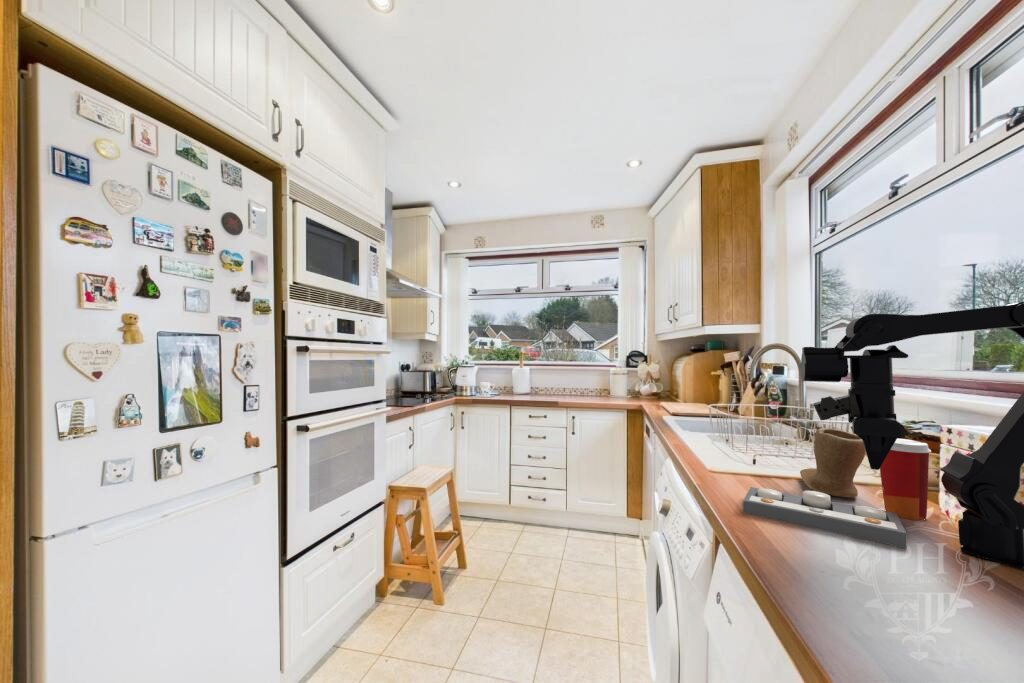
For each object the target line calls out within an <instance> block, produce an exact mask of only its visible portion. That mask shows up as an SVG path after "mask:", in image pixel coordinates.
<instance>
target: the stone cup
mask: <svg viewBox="0 0 1024 683" xmlns="http://www.w3.org/2000/svg"><path fill="white" fill-rule="evenodd" d="M813 453H814V459H815V464H816V465H815V466H816V468H811V467H810V468H803V469H801V470H800V472H799V474H800V477H801V478H802V480H803V483H804V484H805V485H806V486H807V488H809V490H811V491H816V492H821V493H825V494H827V495H829V496H833V497H839V498H840V497H841V498H853V499H854V498H856V497H858V495H859V492H858V489H857V487H856V486H855V484H854V478H855V476H856V473H857V471H858V469H859V467H860V466H861V464H862V463H863V461H864V458H865V456H866V451H865V447H864V444H863V440H862V439H861V438H860V437H858V436H857V435H856V434H854V433H851V432H848V431H845V430H841V429H835V428H831V427H820V428H819V429H817V431H816V432H815V435H814V443H813Z"/></svg>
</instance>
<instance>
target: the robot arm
mask: <svg viewBox="0 0 1024 683" xmlns="http://www.w3.org/2000/svg"><path fill="white" fill-rule="evenodd" d="M994 329H1007V330H1009V331H1011V332H1012V333H1013V334H1015V335H1016V336H1018V337H1019V338H1020V339H1021V340H1023V341H1024V301H1021V302H1015V303H1010V304H1006V305H998V306H997V305H996V306H987V307H980V308H970V309H962V310H960V309H959V310H954V311H953V310H952V311H945V312H935V313H934V312H933V313H928V314H926V313H925V314H902V313H901V314H900V313H899V314H898V313H897V314H896V313H870V314H866V315H863V316H860V317H857V318H854V319H852V320H851V321H850V322H849V323H847V325H846V327H845V335H844V337H842V339H841V340H840V341H838V342H837V343H836V345H835V346H834V347H815V346H802V348H801V350H802V353H801V358H800V359H801V360H800V363H799V371H800V372H799V373H800V378H801V379H800V380H801V381H802V382H815V383H820V382H821V383H840V382H841V380H842V378H847V377H848V376H849V375H850V388H848V389H847V391H848V394H846V395H842V396H836V397H832V396H831V395H829V396H826V397H821V399H820V401H817V402H813V407H814V409H815V412H816V413H817V415H818V418H819V420H820V421H826V420H830V419H832V418H836V417H839V416H845V415H847V420H848V423H852V424H851V425H852V426H850V428H851V431H852V434H855V435H857V436H858V437H860V438H861V439H862V440H863V444H864V447H865V451H866V453H865V455H866V457H867V461H868V464H869V467H870V469H871V470H874V471H875V470H876V471H880V467H881V466H882V464H883V462H884V460H885V458H886V457H887V455H888V453H889V451H890V450H891V448H892V446H893V445H894V443H895V441H896V440H897V438H898V439H906V433H905V432H906V429H905V426H904V425H903V424H902V423H901V422H900V421H898V420H897V413H895V401H894V400H895V399H894V398H895V397H896V390H895V389H894V376H893V374H894V373H893V359H907V358H908V357H909V354H908V353H905V352H904V351H903V350H901V349H899V348H898V347H897V346H896V345H895V344H892V345H888V346H887V347H886V348H885V349H882V348H881V349H874V348H873V349H865V350H864V351H863V352H862V355H856V354H855V355H854V354H853V355H852V354H851V355H850V354H849V355H845V353H847V352H859V351H861V350H862V349H864V348H867V347H878V346H881V345H882V346H883V345H886V344H891V343H895V342H900V341H904V340H908V339H912V338H916V337H920V336H921V337H922V336H929V335H941V334H942V335H943V334H952V333H962V332H963V333H964V332H972V331H984V330H994ZM848 359H849V360H848ZM849 373H850V374H849ZM1023 465H1024V391H1023V392H1022V393H1021V394H1020V395H1019V397H1018V398H1017V400H1016V401H1015V402H1014V404H1013V405H1012V406H1011V408H1009V410H1008V411H1007V412H1006V413H1005V415H1004V416H1003V418H1002V419H1001V420H1000V422H999V423H998V424H997V426H995V428H994V430H993V431H992V432H991V433H990V434H989V436H988V437H987V439H986V440H985V441H984V442H983V443H982V444H981V446H980V447H979V448H978V449H977V450H975V451H973V452H971V453H969V454H964V453H961V452H958V451H955V452H954V453H953V454H952V455H951V457H950V459H949V461H948V463H947V464H946V465H944V466H943V467H941V468H939V470H940V471H942V472H943V473H942V476H941V480H940V481H941V483H942V486H943V489H945V491H946V492H947V493H948V494H950V495H951V496H953V497H954V498H956V501H957V502H958V504H959V506H960V507H961V508H963V509H965V510H964V511H962V518H961V519H958V521H957V526H958V527H957V528H958V541H959V544H960V545H961V547H960V548H959V550H960V551H961V553H965V554H968V555H970V556H975V557H979V558H981V559H985V560H988V561H992V562H995V563H999V564H1002V565H1005V566H1008V567H1011V568H1015V569H1019V570H1024V505H1022V504H1021V503H1020V502H1018V501H1017V500H1016V499H1015V498H1016V496H1017V495H1018V492H1019V489H1020V487H1021V473H1022V472H1021V470H1022V467H1023Z"/></svg>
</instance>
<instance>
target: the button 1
mask: <svg viewBox="0 0 1024 683" xmlns="http://www.w3.org/2000/svg"><path fill="white" fill-rule="evenodd" d="M757 493H758V497H762V498H767V499H772V500H777V501H782V493H783V492H781V491H778V490H776V489H770V488H759V489H758V490H757Z"/></svg>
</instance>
